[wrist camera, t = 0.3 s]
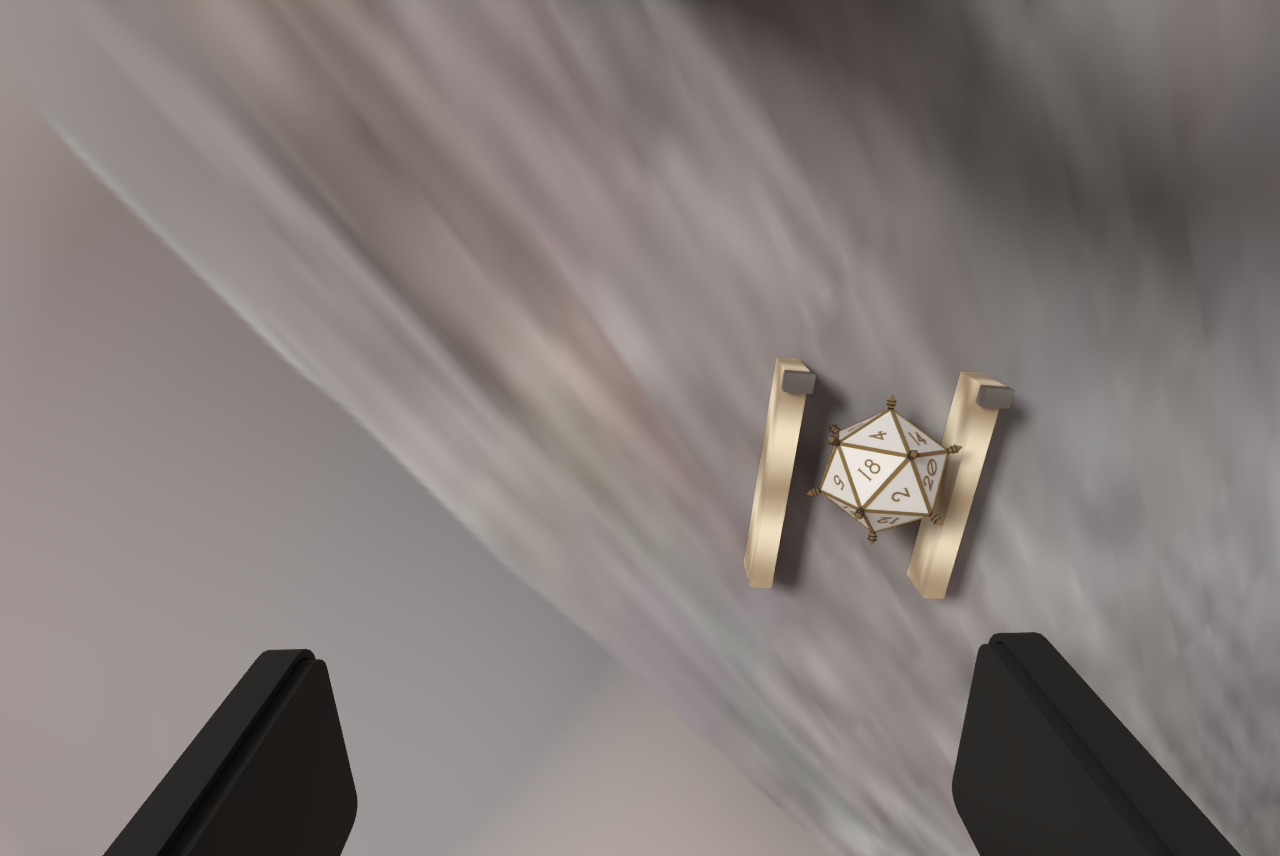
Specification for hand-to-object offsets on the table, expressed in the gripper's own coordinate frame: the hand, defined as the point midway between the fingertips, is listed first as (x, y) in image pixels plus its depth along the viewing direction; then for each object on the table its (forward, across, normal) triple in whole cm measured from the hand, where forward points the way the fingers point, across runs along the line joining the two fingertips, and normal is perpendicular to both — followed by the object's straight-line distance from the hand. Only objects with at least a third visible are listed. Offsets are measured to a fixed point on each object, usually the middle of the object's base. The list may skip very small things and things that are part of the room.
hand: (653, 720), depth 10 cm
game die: (+36, -16, +11) cm, 40 cm away
